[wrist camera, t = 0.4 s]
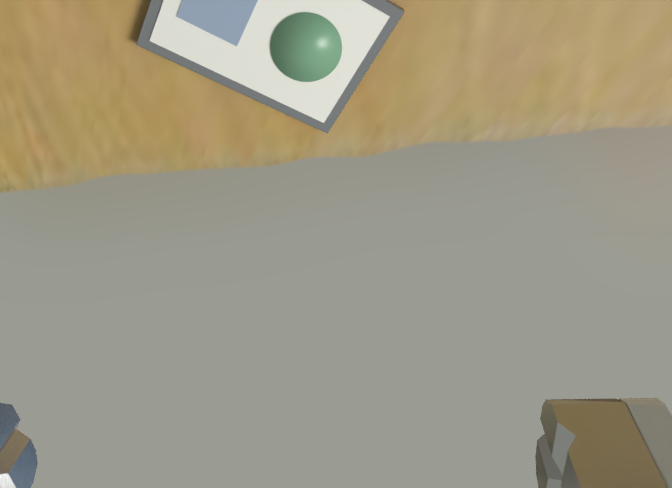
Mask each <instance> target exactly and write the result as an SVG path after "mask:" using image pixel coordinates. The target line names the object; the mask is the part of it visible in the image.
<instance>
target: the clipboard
mask: <svg viewBox="0 0 672 488" xmlns="http://www.w3.org/2000/svg"><path fill="white" fill-rule="evenodd" d="M403 14H404V9H403V8H401V7H399V6H398V5H396V4H394V3H393V2H391V1H389V0H151V2H150V5H149V8H148V11H147V14H146V17H145V20H144V23H143V26H142V29H141V32H140V35H139V38H138V41H137V44H136V45H138V46H140V47H143V48H145V49H147V50H149V51H151V52H153V53H156V54H158V55H160V56H162V57H164V58H166V59H168V60H171V61H173V62H175V63H177V64H179V65H181V66H183V67H186V68H188V69H190V70H192V71H194V72H196V73H199V74H201V75H203V76H205V77H207V78H209V79H211V80H214V81H216V82H218V83H220V84H222V85H224V86H226V87H229V88H231V89H233V90H235V91H237V92H239V93H242V94H244V95H246V96H248V97H250V98H252V99H254V100H257V101H259V102H261V103H263V104H265V105H267V106H269V107H272V108H274V109H276V110H278V111H280V112H282V113H285V114H287V115H289V116H291V117H293V118H295V119H297V120H300V121H302V122H304V123H306V124H308V125H310V126H313V127H315V128H317V129H319V130H321V131H323V132H325V133H328V132H329V130H330V129H331V127H332V125H333V124H334V122H335V121H336V119H337V118H338V116H339V114H340V113H341V111H342V110H343V108H344V107H345V105H346V103H347V102H348V100H349V99H350V97H351V96H352V94H353V92H354V91H355V89H356V88H357V86H358V84H359V83H360V81H361V80H362V78H363V77H364V75H365V73H366V72H367V70H368V69H369V67H370V66H371V64H372V62H373V61H374V59H375V58H376V56H377V55H378V53H379V51H380V50H381V48H382V47H383V45H384V44H385V42H386V40H387V39H388V37H389V36H390V34H391V32H392V31H393V29H394V28H395V26H396V25H397V23H398V21H399V20H400V18H401V17H402V15H403Z"/></svg>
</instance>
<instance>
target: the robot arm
mask: <svg viewBox="0 0 672 488" xmlns="http://www.w3.org/2000/svg"><path fill="white" fill-rule="evenodd" d="M540 419H541V422H542V425H543V429H544V432H545V434H544V435H543V436H542V437H540V438H539V439H538V440H537V447H536V475H537V481H538V487H539V488H672V415H671V413H670V412H669V410H668V408H667V407H666V405H665V403H663V402H662V401H661V400H660V399H658V398H634V399H633V398H627V399H626V398H625V399H552V400H545V402H544V404H543V406H542V412H541V418H540ZM19 422H20V418H19V416H18V414H17V413H16V411H15V409H14V408H13V406H12V405H10V404H4V403H0V488H30V487H31V486H32V484H33V481H34V477H35V472H36V468H37V455H36V449H35V447H34V445H33V443H32V441H31V439H30V438H28V437H27V436H25V435H24V434H23V433H21V432H20V431H18V430H17V427H18V424H19Z"/></svg>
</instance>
